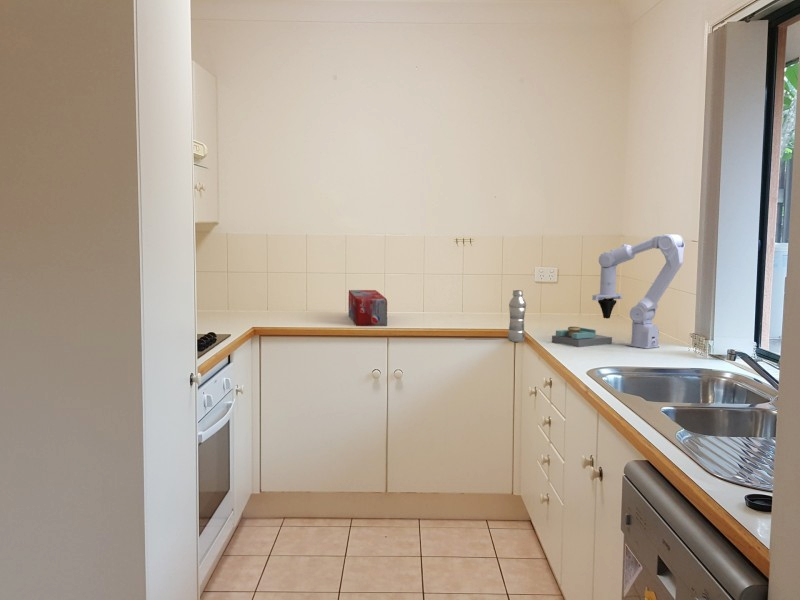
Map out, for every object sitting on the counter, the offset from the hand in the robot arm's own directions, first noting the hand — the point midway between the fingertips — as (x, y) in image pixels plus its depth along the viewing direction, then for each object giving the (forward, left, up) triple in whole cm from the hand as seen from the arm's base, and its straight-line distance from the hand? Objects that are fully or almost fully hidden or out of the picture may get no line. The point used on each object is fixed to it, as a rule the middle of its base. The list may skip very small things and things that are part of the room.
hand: (606, 318), depth 318 cm
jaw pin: (+3, +15, -9) cm, 18 cm away
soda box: (+101, +47, -10) cm, 112 cm away
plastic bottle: (+16, +32, -10) cm, 37 cm away
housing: (+3, +10, -9) cm, 14 cm away
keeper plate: (+3, +13, -7) cm, 15 cm away
